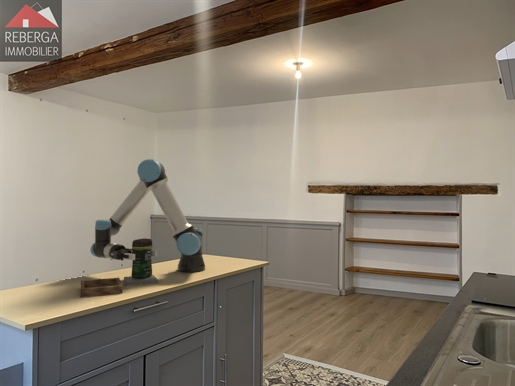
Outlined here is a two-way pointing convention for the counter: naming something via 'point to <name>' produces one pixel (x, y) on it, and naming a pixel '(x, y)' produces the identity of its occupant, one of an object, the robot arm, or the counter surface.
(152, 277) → the grey board
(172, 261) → the counter surface
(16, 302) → the counter surface
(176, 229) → the robot arm
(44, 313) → the counter surface
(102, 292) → the walnut frame
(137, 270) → the coffee jar
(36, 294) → the counter surface
